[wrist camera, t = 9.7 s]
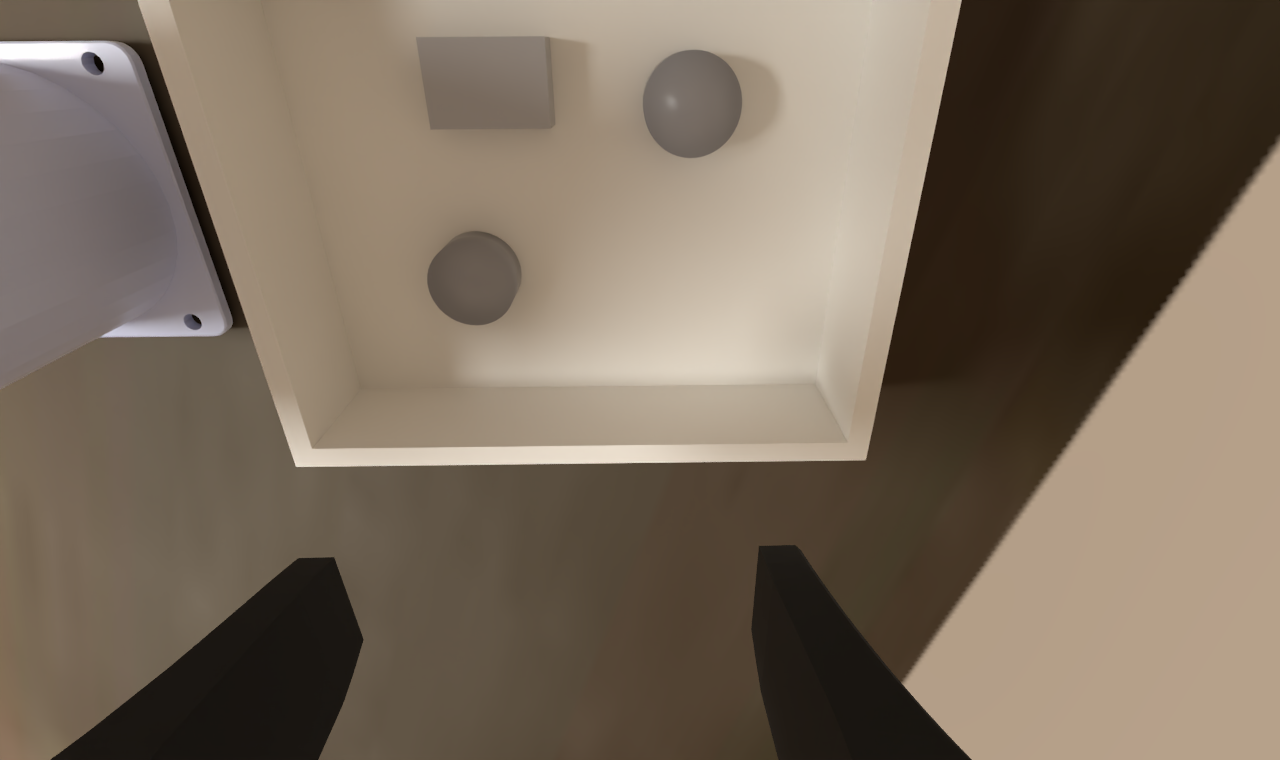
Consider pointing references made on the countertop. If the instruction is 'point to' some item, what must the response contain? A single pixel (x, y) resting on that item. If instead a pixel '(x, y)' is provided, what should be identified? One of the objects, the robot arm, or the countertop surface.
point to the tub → (563, 217)
